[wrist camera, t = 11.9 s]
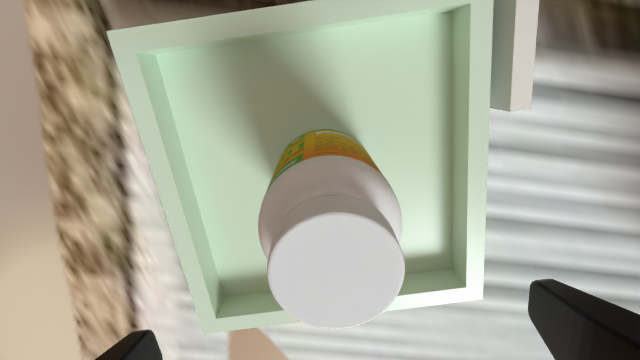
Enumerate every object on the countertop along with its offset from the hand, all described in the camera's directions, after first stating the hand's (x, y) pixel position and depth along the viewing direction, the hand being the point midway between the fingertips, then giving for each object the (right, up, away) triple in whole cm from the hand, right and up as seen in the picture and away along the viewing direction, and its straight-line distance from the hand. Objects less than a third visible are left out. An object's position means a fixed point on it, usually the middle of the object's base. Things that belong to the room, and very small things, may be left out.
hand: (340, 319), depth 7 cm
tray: (0, +4, +11) cm, 12 cm away
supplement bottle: (0, +4, +11) cm, 12 cm away
